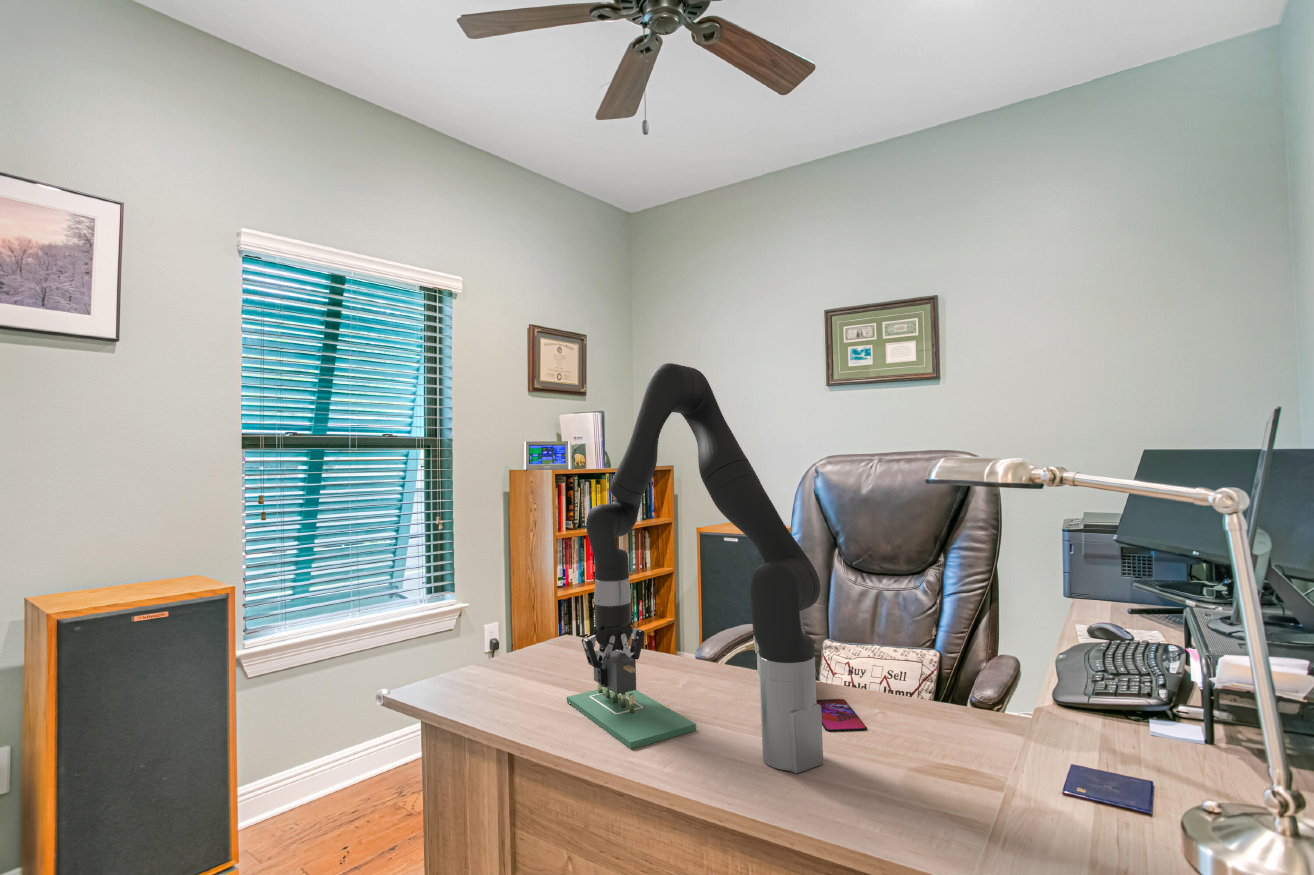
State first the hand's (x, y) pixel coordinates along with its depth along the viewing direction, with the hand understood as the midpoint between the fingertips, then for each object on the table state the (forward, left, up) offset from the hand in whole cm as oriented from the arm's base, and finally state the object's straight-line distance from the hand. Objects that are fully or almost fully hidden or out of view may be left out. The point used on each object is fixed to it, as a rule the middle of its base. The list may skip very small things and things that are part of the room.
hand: (614, 683), depth 137 cm
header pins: (0, 0, -4) cm, 4 cm away
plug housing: (-1, 0, 0) cm, 1 cm away
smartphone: (-29, -33, -5) cm, 44 cm away
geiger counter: (-6, -35, -5) cm, 36 cm away
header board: (-5, 0, -5) cm, 7 cm away
